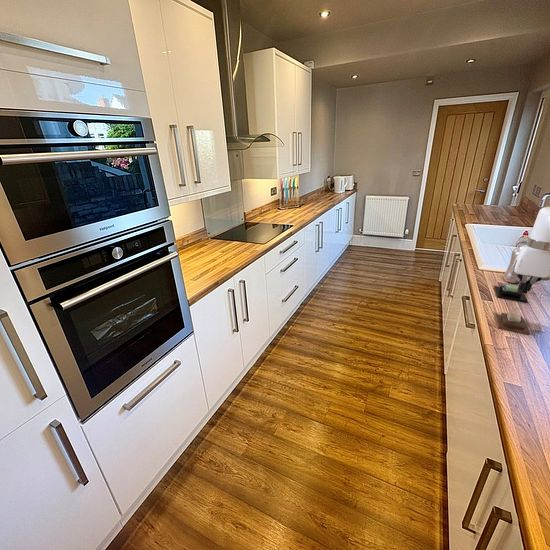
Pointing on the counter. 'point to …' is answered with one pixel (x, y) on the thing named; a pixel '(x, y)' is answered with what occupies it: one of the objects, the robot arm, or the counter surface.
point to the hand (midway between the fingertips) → (523, 291)
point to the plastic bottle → (507, 275)
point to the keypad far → (509, 294)
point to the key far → (511, 288)
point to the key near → (513, 317)
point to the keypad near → (511, 324)
